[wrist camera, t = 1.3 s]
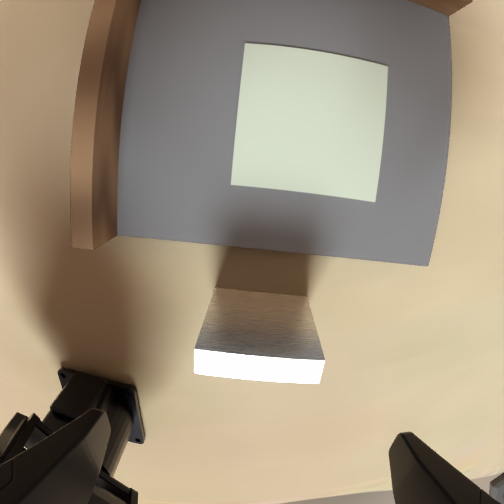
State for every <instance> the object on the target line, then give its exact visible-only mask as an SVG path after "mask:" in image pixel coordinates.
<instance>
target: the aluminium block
mask: <svg viewBox="0 0 504 504" xmlns="http://www.w3.org/2000/svg"><path fill="white" fill-rule="evenodd" d="M324 363H325V358H324V355H323V351H322V348H321V344H320V340H319V337H318V333H317V330H316V326H315V323H314V319H313V316H312V312H311V309H310V305H309V302H308V299H307V296H298V295H287V294H276V293H265V292H255V291H245V290H235V289H225V288H216V287H215V290H214V293H213V296H212V298H211V301H210V304H209V307H208V310H207V313H206V316H205V319H204V322H203V325H202V328H201V331H200V334H199V337H198V340H197V343H196V346H195V349H194V373H198V374H205V375H213V376H221V377H230V378H239V379H250V380H262V381H275V382H292V383H315V384H319V381H320V377H321V374H322V370H323V366H324Z"/></svg>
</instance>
